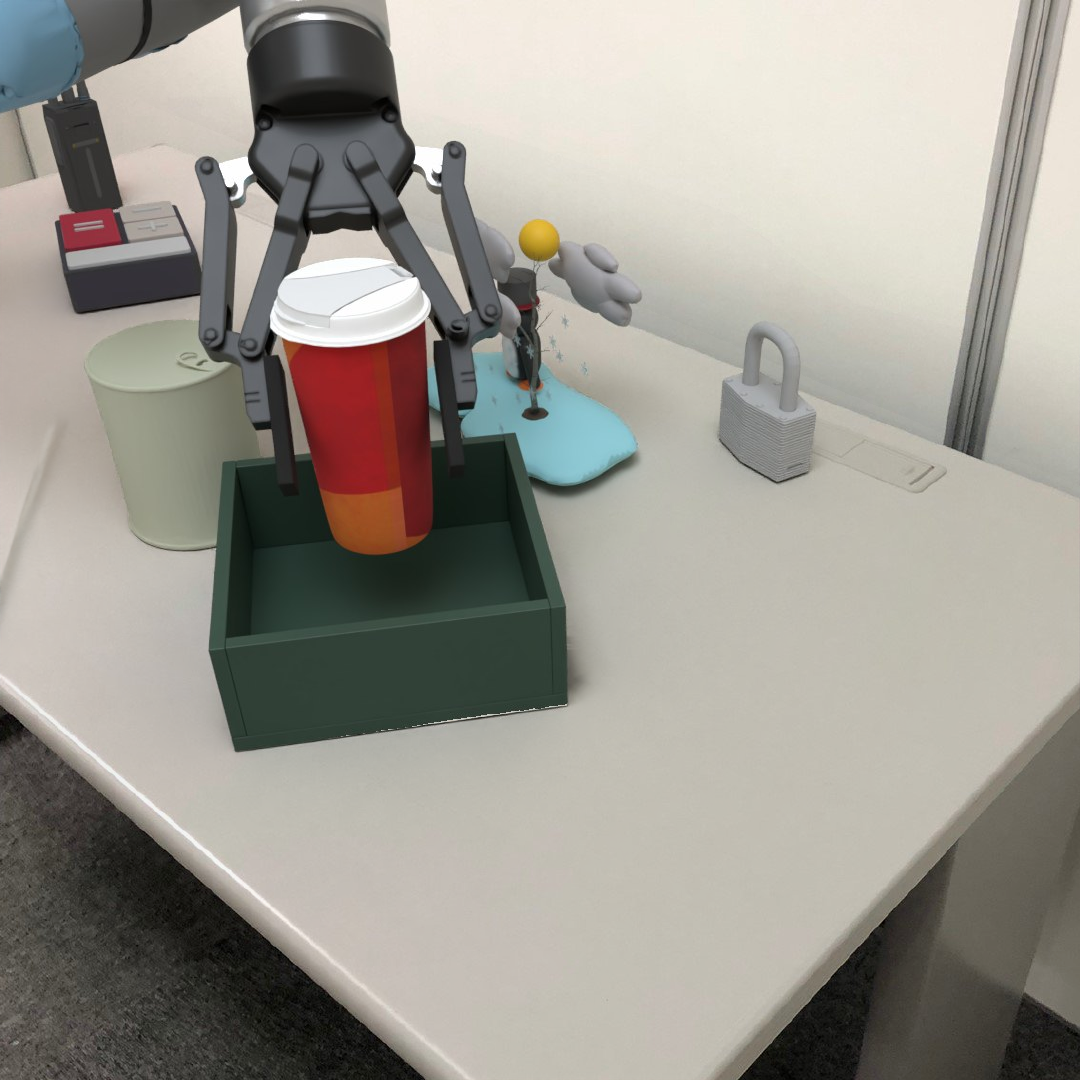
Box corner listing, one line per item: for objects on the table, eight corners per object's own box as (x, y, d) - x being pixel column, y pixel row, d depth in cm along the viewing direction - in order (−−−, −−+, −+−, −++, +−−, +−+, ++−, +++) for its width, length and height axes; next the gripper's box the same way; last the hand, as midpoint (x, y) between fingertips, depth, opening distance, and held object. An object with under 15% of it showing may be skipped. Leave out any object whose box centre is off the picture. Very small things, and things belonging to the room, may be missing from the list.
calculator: (174, 195, 115) (196, 244, 104) (184, 240, 118) (206, 292, 107) (51, 211, 112) (60, 264, 101) (64, 257, 114) (74, 313, 103)
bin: (234, 752, 63) (207, 650, 59) (243, 556, 76) (222, 461, 72) (568, 706, 66) (566, 605, 62) (520, 525, 79) (515, 432, 75)
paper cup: (409, 472, 71) (380, 241, 62) (478, 533, 66) (457, 291, 57) (285, 518, 67) (236, 278, 59) (349, 585, 63) (305, 336, 54)
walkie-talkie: (109, 197, 125) (54, -17, 113) (125, 205, 123) (72, -11, 111) (65, 209, 122) (4, -8, 110) (81, 218, 121) (22, -2, 108)
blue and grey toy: (401, 390, 93) (379, 195, 84) (522, 357, 98) (515, 167, 88) (528, 515, 80) (519, 300, 71) (661, 470, 85) (670, 262, 75)
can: (204, 567, 76) (161, 395, 68) (98, 525, 79) (46, 357, 72) (302, 496, 82) (272, 332, 74) (199, 460, 85) (161, 300, 78)
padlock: (710, 441, 88) (719, 312, 82) (755, 426, 89) (767, 299, 83) (770, 487, 83) (784, 353, 77) (816, 471, 85) (833, 339, 79)
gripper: (510, 82, 69) (566, 475, 66) (131, 104, 65) (177, 518, 63) (520, 1, 61) (584, 440, 59) (94, 21, 58) (144, 487, 56)
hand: (374, 480), depth 61 cm, fingers closed on paper cup, 8 cm apart
